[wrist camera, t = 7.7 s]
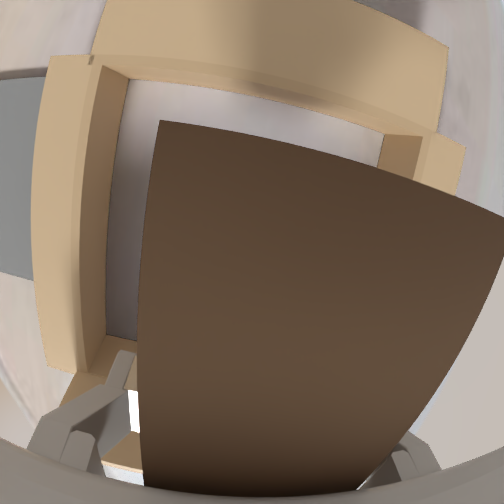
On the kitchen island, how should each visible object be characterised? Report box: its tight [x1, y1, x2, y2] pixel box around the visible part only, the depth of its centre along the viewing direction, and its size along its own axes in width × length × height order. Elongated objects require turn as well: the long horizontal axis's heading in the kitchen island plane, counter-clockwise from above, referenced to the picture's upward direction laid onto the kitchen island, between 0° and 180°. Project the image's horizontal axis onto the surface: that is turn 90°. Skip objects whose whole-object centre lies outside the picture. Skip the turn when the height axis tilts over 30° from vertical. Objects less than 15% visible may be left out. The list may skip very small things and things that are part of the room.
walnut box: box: [137, 120, 504, 497], centre depth 8 cm, size 12×5×7 cm, turn 168°
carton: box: [31, 0, 466, 474], centre depth 16 cm, size 27×25×12 cm
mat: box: [0, 77, 46, 281], centre depth 19 cm, size 16×10×1 cm, turn 168°
